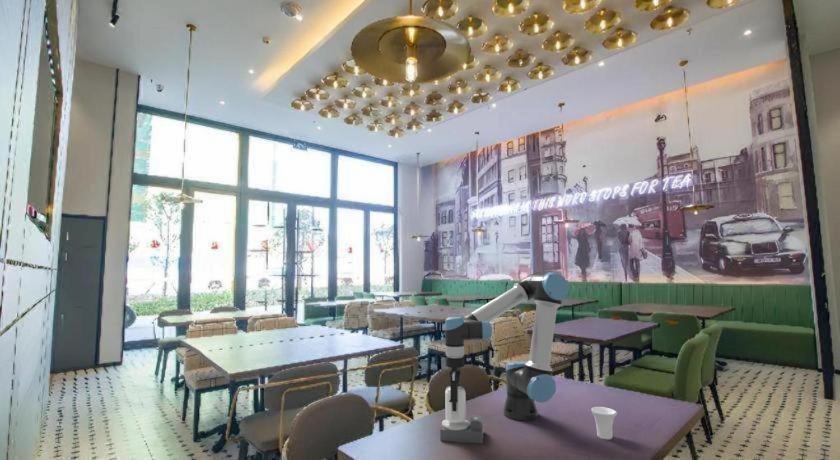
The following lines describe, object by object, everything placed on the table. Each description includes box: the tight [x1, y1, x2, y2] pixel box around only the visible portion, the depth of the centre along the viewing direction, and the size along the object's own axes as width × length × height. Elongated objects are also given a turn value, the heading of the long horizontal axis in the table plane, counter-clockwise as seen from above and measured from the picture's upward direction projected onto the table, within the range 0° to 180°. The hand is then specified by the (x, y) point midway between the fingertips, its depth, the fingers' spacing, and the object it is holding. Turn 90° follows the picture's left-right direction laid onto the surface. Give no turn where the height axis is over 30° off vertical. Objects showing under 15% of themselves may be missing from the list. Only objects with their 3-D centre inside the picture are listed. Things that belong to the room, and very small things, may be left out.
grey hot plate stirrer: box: [439, 414, 484, 444], centre depth 155 cm, size 16×11×8 cm
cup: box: [591, 406, 618, 440], centre depth 153 cm, size 9×9×10 cm
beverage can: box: [444, 385, 467, 423], centre depth 156 cm, size 8×8×12 cm
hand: (455, 415), depth 155 cm, fingers closed on beverage can, 8 cm apart
